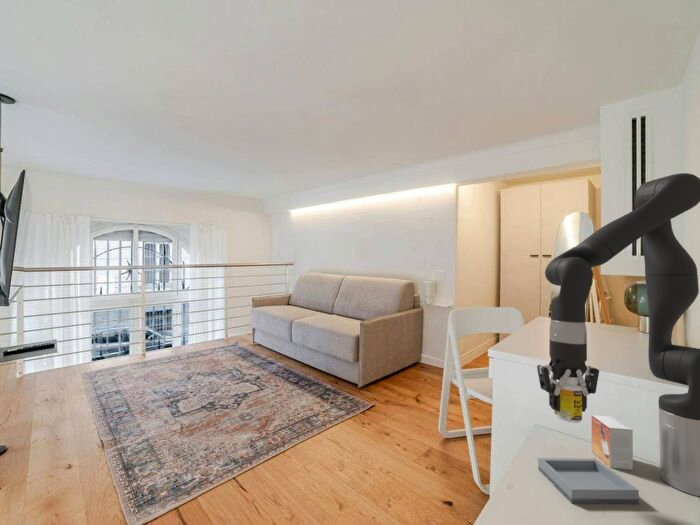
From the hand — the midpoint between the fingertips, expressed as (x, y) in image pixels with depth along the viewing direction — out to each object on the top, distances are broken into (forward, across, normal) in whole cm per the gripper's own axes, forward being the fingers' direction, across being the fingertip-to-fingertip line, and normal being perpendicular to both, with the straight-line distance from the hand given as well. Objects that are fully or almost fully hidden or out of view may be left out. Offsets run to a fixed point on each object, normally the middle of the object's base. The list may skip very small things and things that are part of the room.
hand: (567, 409), depth 76 cm
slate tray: (+18, -4, 0) cm, 18 cm away
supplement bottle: (+2, 0, 0) cm, 2 cm away
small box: (+18, -20, -11) cm, 29 cm away
